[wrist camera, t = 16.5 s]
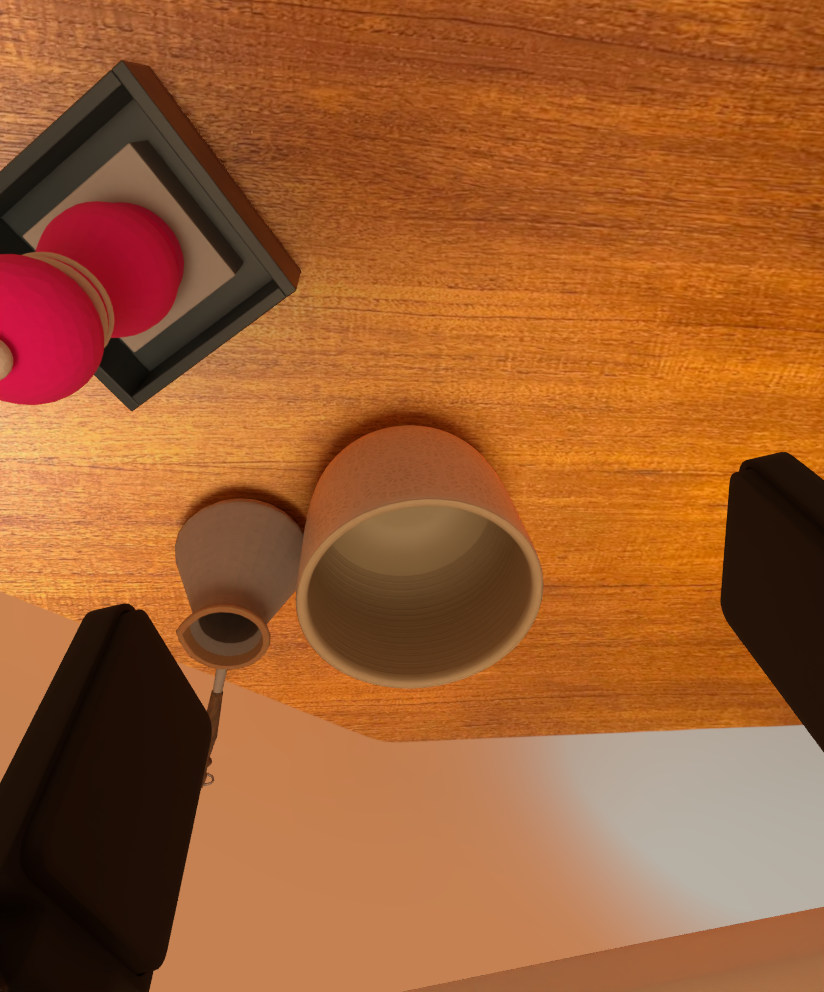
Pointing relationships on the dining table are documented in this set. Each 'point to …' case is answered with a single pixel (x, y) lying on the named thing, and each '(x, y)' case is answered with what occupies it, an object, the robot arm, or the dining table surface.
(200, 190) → the dark square tray
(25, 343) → the pepper mill
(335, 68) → the dining table surface
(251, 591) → the coffee pot
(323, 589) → the planter
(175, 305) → the brown square block
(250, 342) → the dining table surface
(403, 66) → the dining table surface
